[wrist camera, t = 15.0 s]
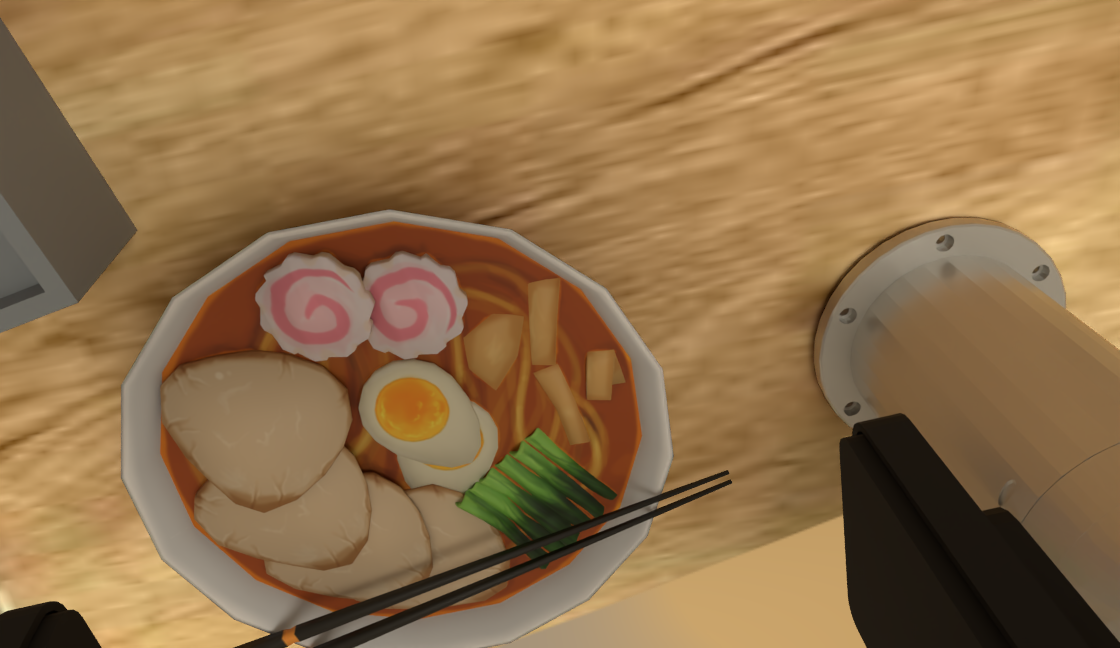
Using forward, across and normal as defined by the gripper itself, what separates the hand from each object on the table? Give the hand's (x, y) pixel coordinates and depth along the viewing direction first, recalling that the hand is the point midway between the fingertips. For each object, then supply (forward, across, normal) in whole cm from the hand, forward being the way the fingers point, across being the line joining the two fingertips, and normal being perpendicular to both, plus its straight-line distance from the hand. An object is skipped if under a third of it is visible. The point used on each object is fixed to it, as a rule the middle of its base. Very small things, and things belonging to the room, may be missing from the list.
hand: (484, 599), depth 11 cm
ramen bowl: (+31, +6, +14) cm, 34 cm away
